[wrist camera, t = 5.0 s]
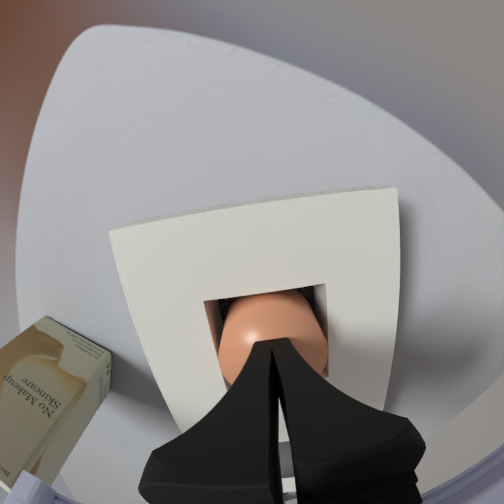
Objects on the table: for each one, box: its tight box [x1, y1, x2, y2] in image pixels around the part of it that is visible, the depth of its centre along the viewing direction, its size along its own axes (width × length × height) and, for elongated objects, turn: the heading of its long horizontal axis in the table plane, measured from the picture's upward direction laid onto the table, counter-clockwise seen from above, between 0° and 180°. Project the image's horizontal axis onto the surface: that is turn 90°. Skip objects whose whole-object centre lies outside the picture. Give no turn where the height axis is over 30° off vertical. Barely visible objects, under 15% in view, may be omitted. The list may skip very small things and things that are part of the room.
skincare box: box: [0, 316, 111, 493], centre depth 9 cm, size 6×4×12 cm
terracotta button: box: [218, 289, 328, 385], centre depth 12 cm, size 4×4×3 cm
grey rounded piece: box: [279, 441, 294, 478], centre depth 15 cm, size 4×4×3 cm
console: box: [108, 186, 400, 493], centre depth 14 cm, size 22×12×3 cm, turn 9°
